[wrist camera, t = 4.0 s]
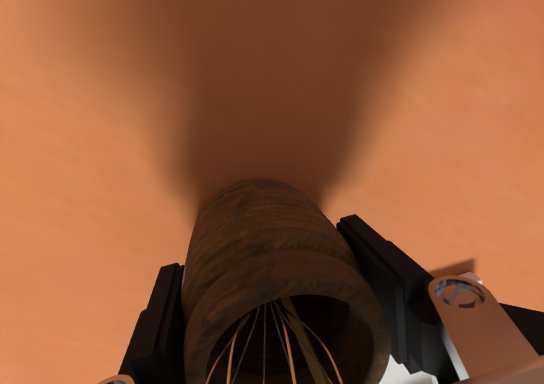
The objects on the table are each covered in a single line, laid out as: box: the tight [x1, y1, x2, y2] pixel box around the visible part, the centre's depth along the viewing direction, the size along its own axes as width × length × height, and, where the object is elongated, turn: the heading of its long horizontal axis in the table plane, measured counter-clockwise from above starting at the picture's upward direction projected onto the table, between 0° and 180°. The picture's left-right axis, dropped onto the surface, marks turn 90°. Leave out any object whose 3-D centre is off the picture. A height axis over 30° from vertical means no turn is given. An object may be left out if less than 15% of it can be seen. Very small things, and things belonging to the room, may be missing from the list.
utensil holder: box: [181, 180, 391, 384], centre depth 8 cm, size 6×6×12 cm
